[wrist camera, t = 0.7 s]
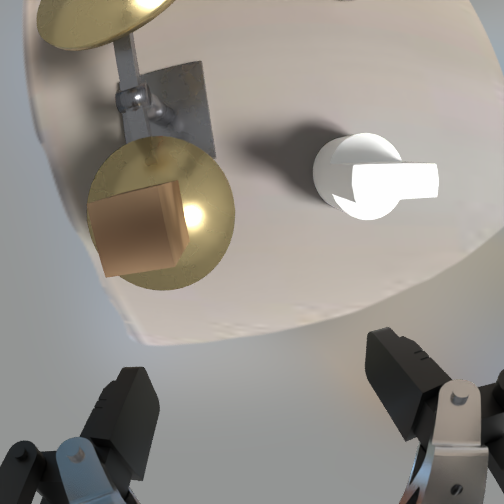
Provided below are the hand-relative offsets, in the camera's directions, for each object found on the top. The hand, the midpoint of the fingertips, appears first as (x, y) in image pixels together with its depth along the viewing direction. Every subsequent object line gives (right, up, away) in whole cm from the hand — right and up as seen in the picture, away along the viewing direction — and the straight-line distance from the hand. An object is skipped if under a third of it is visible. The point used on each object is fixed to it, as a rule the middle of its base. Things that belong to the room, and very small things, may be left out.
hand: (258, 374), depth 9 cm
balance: (-10, +20, +20) cm, 30 cm away
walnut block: (-8, +7, +13) cm, 17 cm away
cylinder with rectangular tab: (+11, +14, +23) cm, 29 cm away
